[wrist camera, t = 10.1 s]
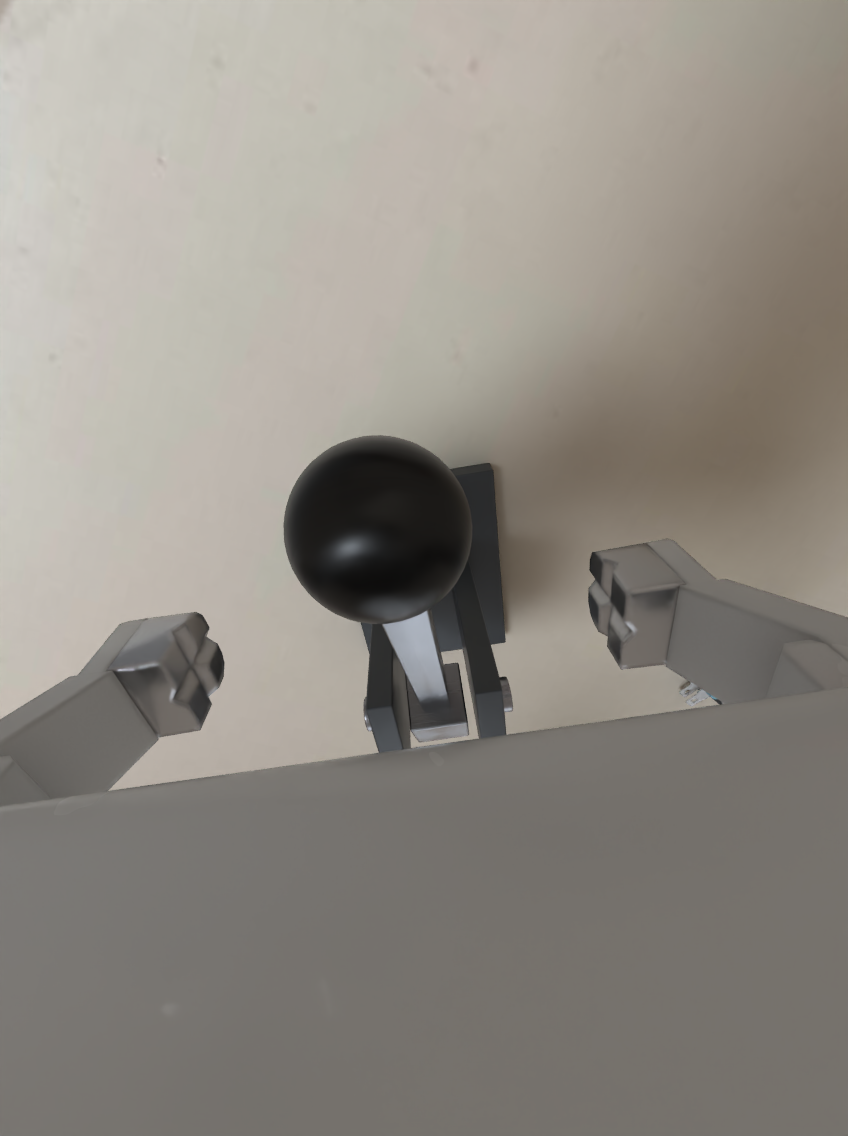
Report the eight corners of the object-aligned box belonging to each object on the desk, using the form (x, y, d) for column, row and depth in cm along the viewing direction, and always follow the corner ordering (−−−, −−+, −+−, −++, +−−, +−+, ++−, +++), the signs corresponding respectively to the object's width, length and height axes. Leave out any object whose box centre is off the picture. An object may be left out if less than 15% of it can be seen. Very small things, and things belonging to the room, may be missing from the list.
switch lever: (257, 410, 8) (241, 584, 6) (453, 377, 7) (490, 545, 6) (401, 680, 21) (408, 754, 20) (470, 670, 21) (482, 743, 20)
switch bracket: (328, 488, 26) (278, 637, 15) (489, 462, 25) (559, 595, 15) (372, 650, 32) (360, 839, 21) (502, 631, 32) (557, 812, 21)
